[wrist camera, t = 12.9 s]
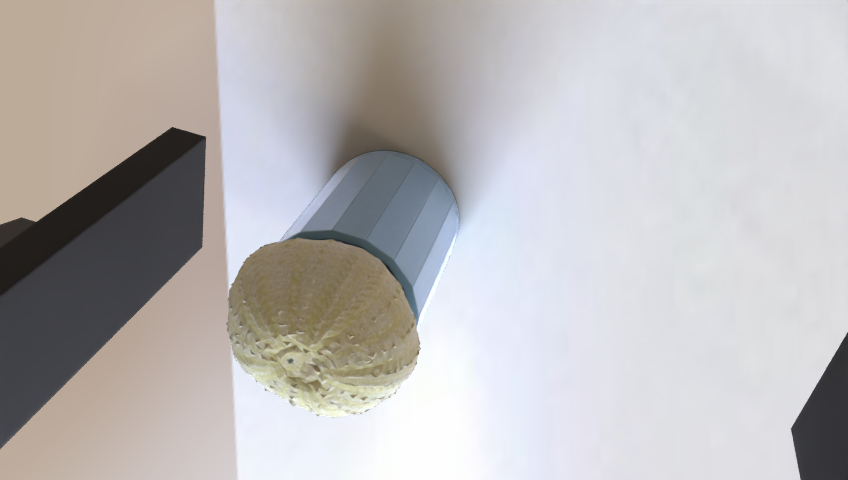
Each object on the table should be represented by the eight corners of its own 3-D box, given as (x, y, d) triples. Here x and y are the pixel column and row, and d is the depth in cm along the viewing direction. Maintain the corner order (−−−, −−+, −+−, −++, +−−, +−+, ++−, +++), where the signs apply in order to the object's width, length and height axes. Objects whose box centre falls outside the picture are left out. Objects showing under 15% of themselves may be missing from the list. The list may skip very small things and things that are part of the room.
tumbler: (473, 172, 45) (432, 259, 37) (443, 289, 50) (401, 391, 41) (336, 133, 46) (266, 210, 38) (319, 251, 51) (252, 343, 42)
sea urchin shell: (338, 444, 41) (207, 447, 35) (303, 309, 45) (178, 290, 39) (469, 366, 37) (344, 354, 31) (418, 223, 40) (297, 187, 34)
